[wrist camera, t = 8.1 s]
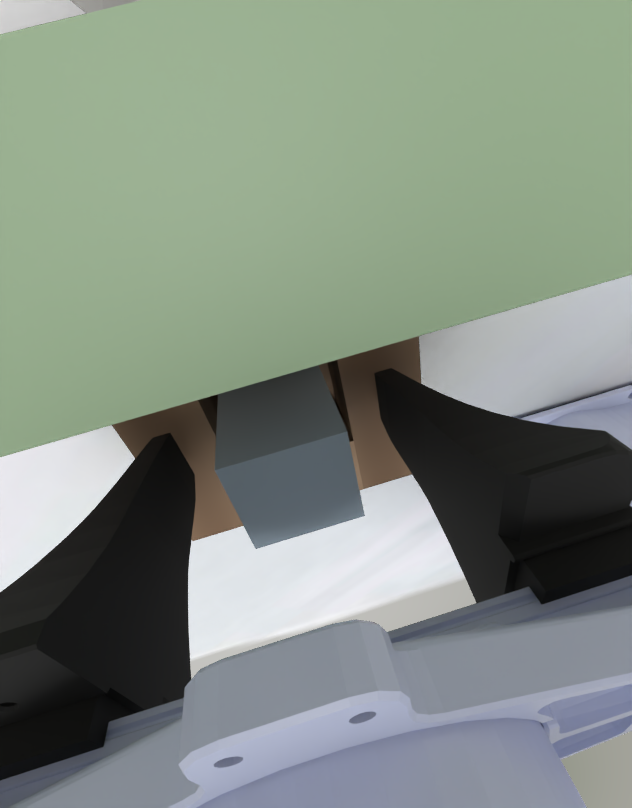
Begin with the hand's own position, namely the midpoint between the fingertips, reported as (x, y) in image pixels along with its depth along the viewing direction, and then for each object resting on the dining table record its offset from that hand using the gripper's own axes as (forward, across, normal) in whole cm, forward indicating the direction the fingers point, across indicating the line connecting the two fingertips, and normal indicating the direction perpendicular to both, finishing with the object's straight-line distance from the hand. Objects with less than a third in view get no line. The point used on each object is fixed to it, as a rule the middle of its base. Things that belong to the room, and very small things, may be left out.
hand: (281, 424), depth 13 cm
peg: (+4, 0, 0) cm, 4 cm away
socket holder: (+5, 0, -2) cm, 5 cm away
